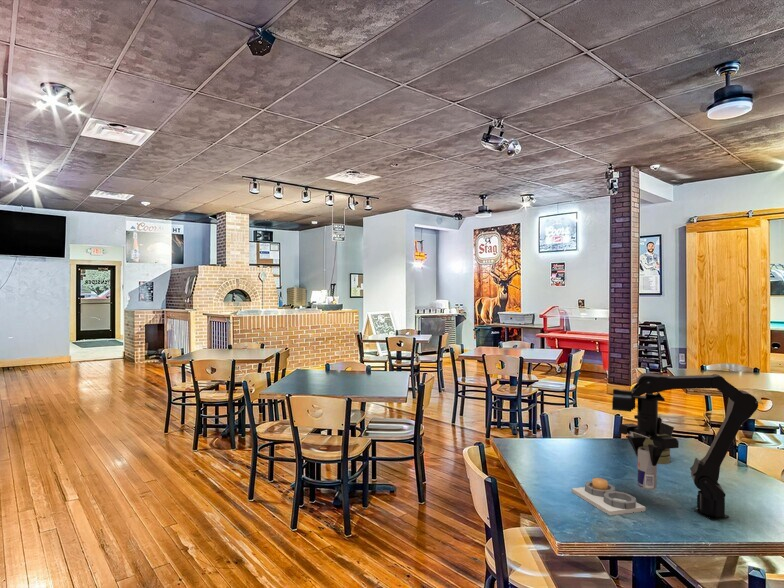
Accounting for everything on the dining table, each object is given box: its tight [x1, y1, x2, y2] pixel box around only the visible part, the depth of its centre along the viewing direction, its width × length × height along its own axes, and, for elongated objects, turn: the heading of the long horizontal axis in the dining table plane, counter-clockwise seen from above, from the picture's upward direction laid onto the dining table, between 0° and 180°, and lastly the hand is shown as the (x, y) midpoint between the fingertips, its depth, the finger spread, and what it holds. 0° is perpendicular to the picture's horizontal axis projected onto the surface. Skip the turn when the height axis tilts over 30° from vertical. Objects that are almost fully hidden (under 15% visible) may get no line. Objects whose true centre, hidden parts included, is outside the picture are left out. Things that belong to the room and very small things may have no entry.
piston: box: [643, 434, 671, 465], centre depth 194 cm, size 11×12×11 cm
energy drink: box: [637, 447, 658, 491], centre depth 150 cm, size 5×5×12 cm
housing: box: [571, 477, 646, 516], centre depth 152 cm, size 18×13×5 cm
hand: (647, 462), depth 150 cm, fingers closed on energy drink, 5 cm apart
